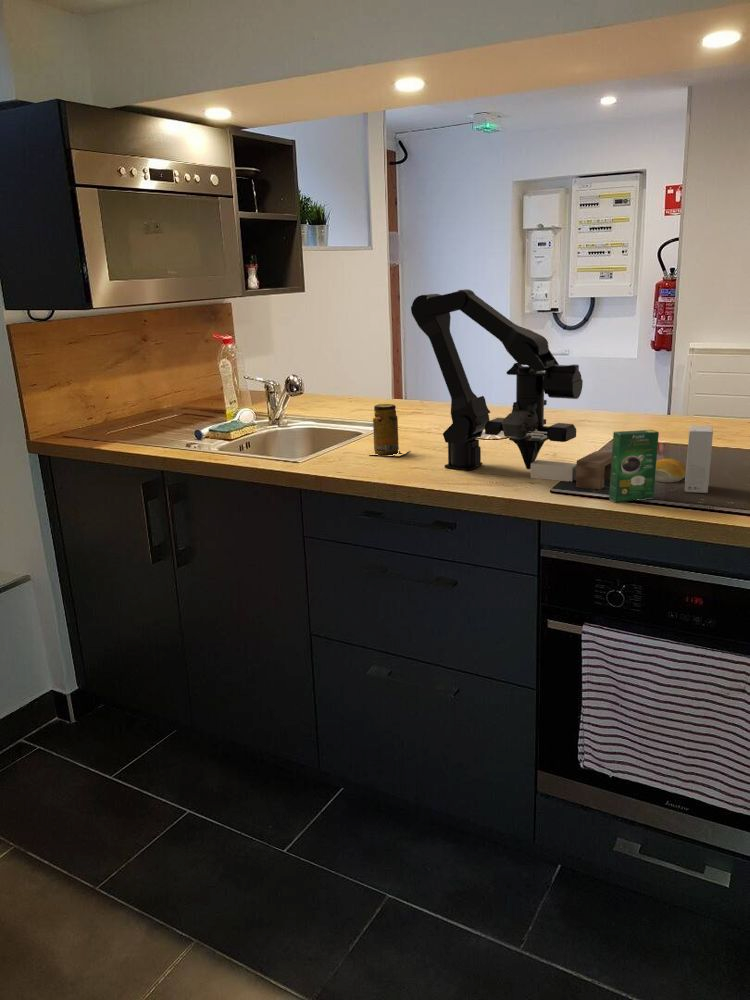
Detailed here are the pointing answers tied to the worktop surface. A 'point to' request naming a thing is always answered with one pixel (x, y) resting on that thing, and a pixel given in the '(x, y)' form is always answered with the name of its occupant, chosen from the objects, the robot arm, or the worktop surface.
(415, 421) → the worktop surface
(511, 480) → the worktop surface
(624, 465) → the coffee box
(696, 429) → the skincare box
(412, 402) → the worktop surface
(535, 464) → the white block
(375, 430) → the condiment
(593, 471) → the wooden block
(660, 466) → the bread roll
